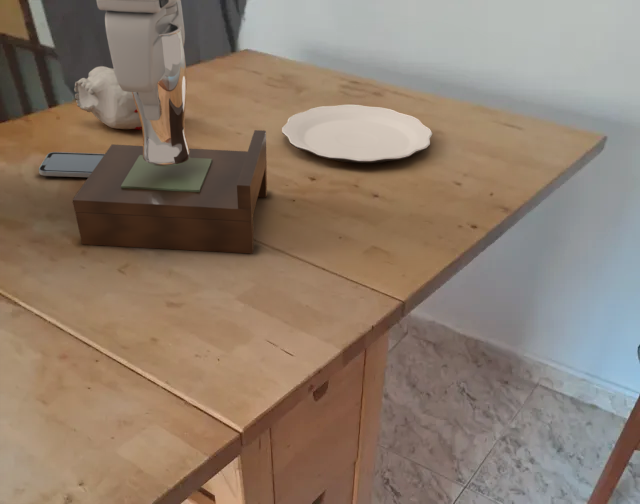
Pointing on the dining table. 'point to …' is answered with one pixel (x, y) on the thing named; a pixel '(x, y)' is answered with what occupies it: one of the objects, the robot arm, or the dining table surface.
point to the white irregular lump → (107, 99)
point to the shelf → (174, 199)
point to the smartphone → (69, 164)
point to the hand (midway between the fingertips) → (160, 107)
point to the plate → (357, 133)
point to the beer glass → (167, 108)
